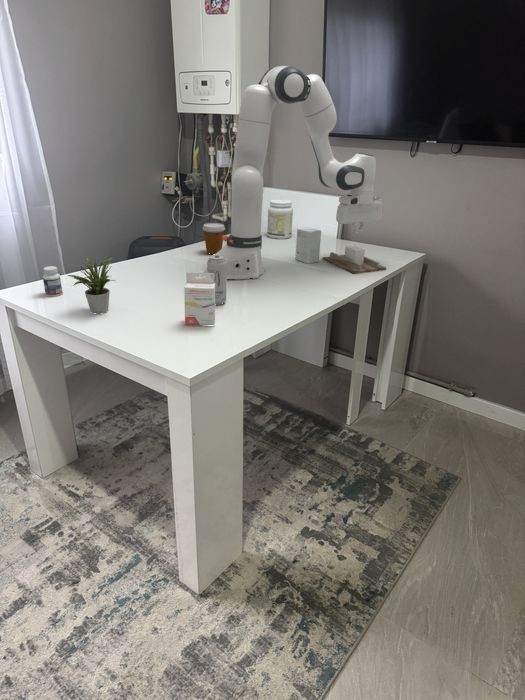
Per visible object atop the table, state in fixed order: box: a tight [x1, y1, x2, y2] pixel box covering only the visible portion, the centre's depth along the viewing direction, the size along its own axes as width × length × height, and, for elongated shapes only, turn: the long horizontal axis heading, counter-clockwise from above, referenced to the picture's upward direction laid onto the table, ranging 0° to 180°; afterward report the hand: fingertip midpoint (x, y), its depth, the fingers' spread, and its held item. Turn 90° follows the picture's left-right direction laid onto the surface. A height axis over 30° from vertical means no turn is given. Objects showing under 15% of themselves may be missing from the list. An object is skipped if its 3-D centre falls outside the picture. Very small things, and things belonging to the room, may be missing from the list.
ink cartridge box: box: [183, 271, 216, 326], centre depth 143 cm, size 9×5×15 cm, turn 92°
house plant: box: [67, 257, 116, 315], centre depth 150 cm, size 14×14×16 cm
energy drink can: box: [206, 255, 227, 305], centre depth 159 cm, size 6×6×15 cm
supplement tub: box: [266, 199, 294, 240], centre depth 244 cm, size 12×12×17 cm
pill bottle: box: [42, 265, 64, 298], centre depth 162 cm, size 5×5×9 cm
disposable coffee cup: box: [202, 222, 226, 254], centre depth 213 cm, size 10×10×12 cm
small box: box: [295, 226, 322, 265], centre depth 208 cm, size 8×6×13 cm
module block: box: [344, 244, 366, 264], centre depth 206 cm, size 4×7×6 cm, turn 27°
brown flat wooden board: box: [322, 251, 387, 275], centre depth 207 cm, size 16×22×3 cm
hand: (358, 233), depth 202 cm, fingers closed
